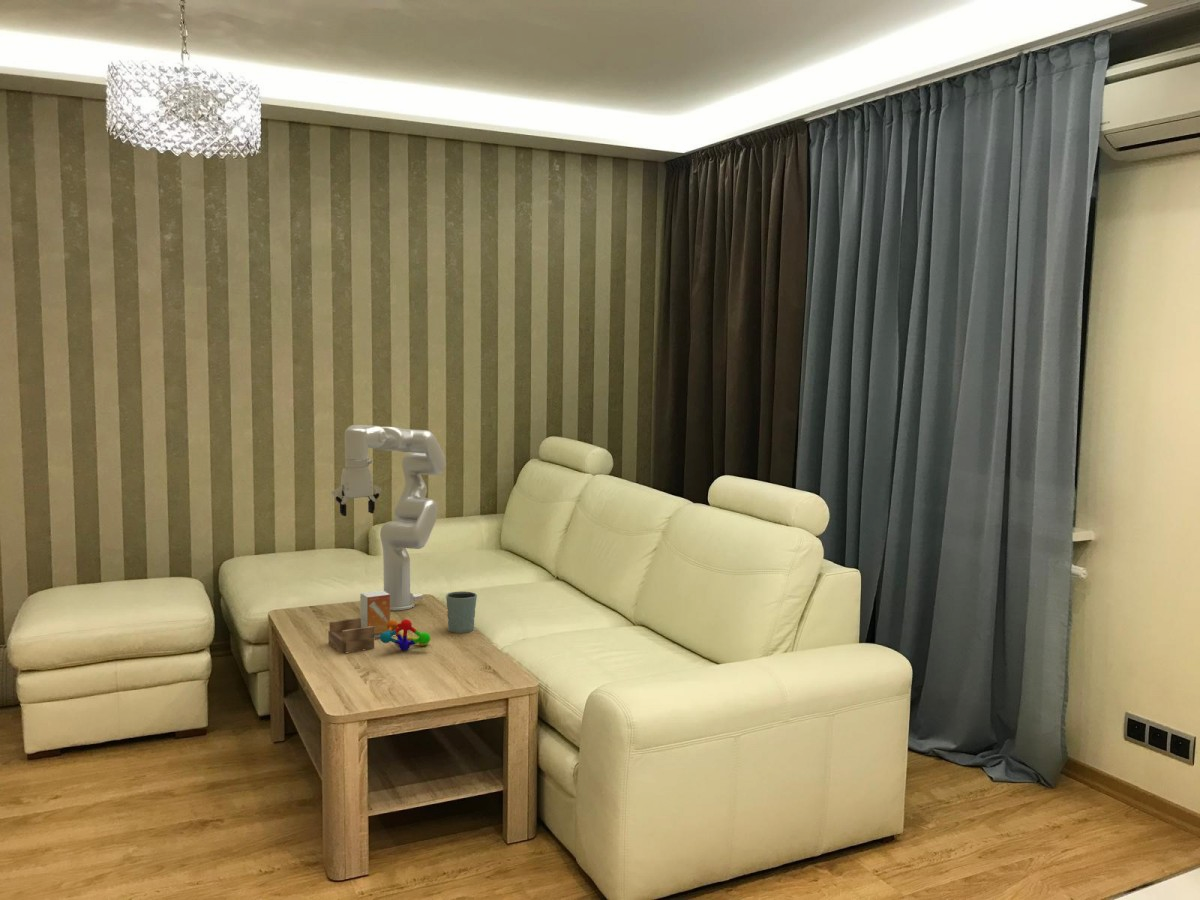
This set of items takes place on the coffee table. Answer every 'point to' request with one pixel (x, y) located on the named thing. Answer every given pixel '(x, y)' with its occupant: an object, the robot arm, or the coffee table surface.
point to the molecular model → (403, 634)
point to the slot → (350, 635)
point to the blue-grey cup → (461, 611)
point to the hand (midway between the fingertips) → (357, 514)
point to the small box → (375, 610)
